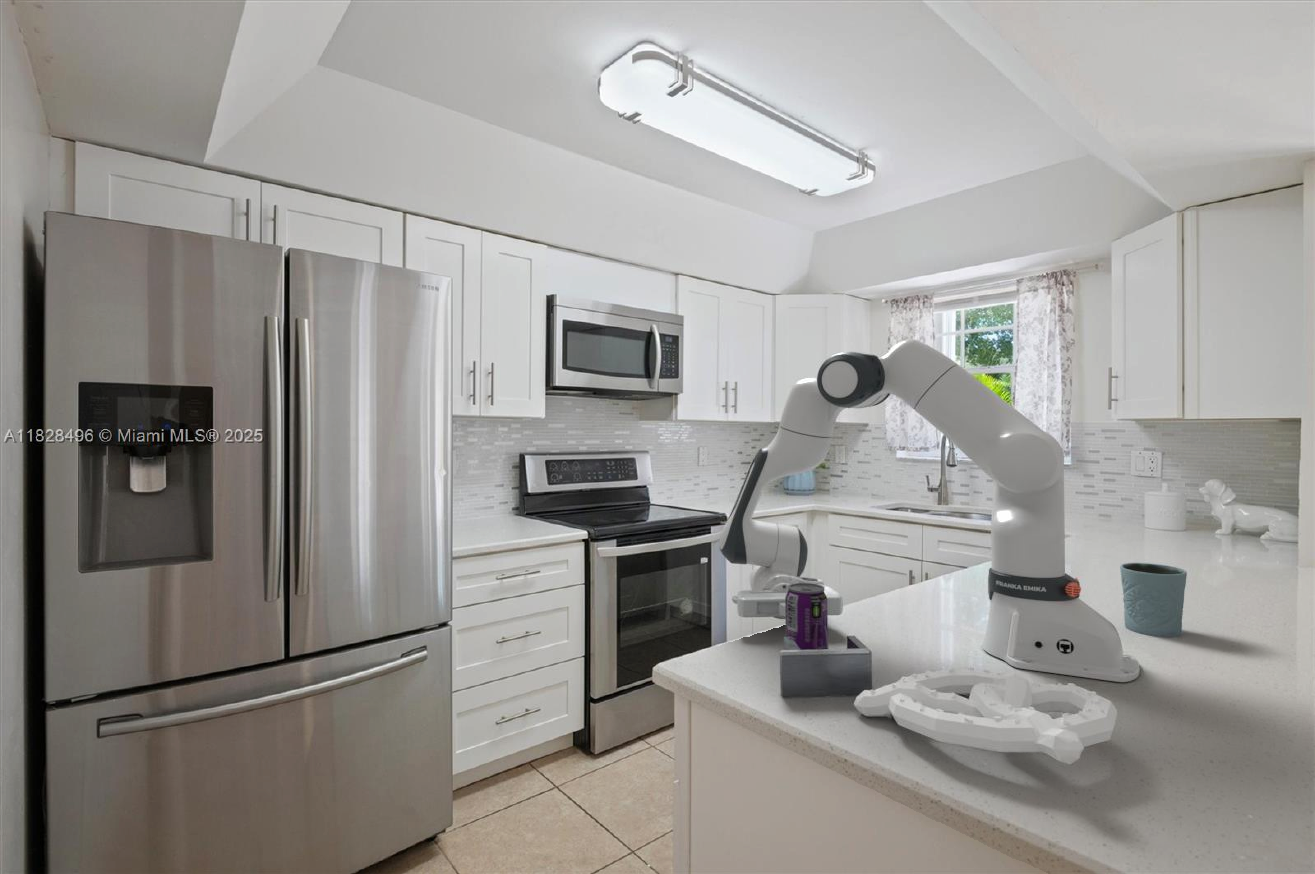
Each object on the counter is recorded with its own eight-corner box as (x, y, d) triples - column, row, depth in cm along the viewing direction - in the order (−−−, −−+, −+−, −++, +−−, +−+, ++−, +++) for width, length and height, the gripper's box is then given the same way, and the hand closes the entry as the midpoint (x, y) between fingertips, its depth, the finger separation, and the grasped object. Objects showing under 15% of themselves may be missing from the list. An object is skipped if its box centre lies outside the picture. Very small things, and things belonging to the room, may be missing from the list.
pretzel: (839, 732, 85) (835, 682, 86) (937, 694, 99) (933, 651, 99) (1070, 800, 62) (1061, 731, 63) (1155, 738, 76) (1147, 683, 77)
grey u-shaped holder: (769, 674, 101) (769, 633, 101) (854, 672, 102) (854, 631, 102) (782, 697, 93) (781, 652, 93) (875, 695, 93) (874, 650, 93)
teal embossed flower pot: (1163, 623, 126) (1162, 562, 126) (1201, 639, 116) (1201, 573, 116) (1108, 622, 127) (1108, 562, 127) (1142, 638, 117) (1141, 573, 117)
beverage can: (829, 664, 105) (828, 592, 105) (785, 662, 107) (785, 591, 107) (826, 650, 112) (826, 582, 112) (785, 648, 114) (785, 581, 114)
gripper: (730, 581, 129) (741, 598, 116) (829, 578, 130) (852, 595, 116) (730, 612, 129) (741, 633, 116) (829, 609, 130) (852, 630, 116)
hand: (797, 614), depth 116 cm, fingers closed
